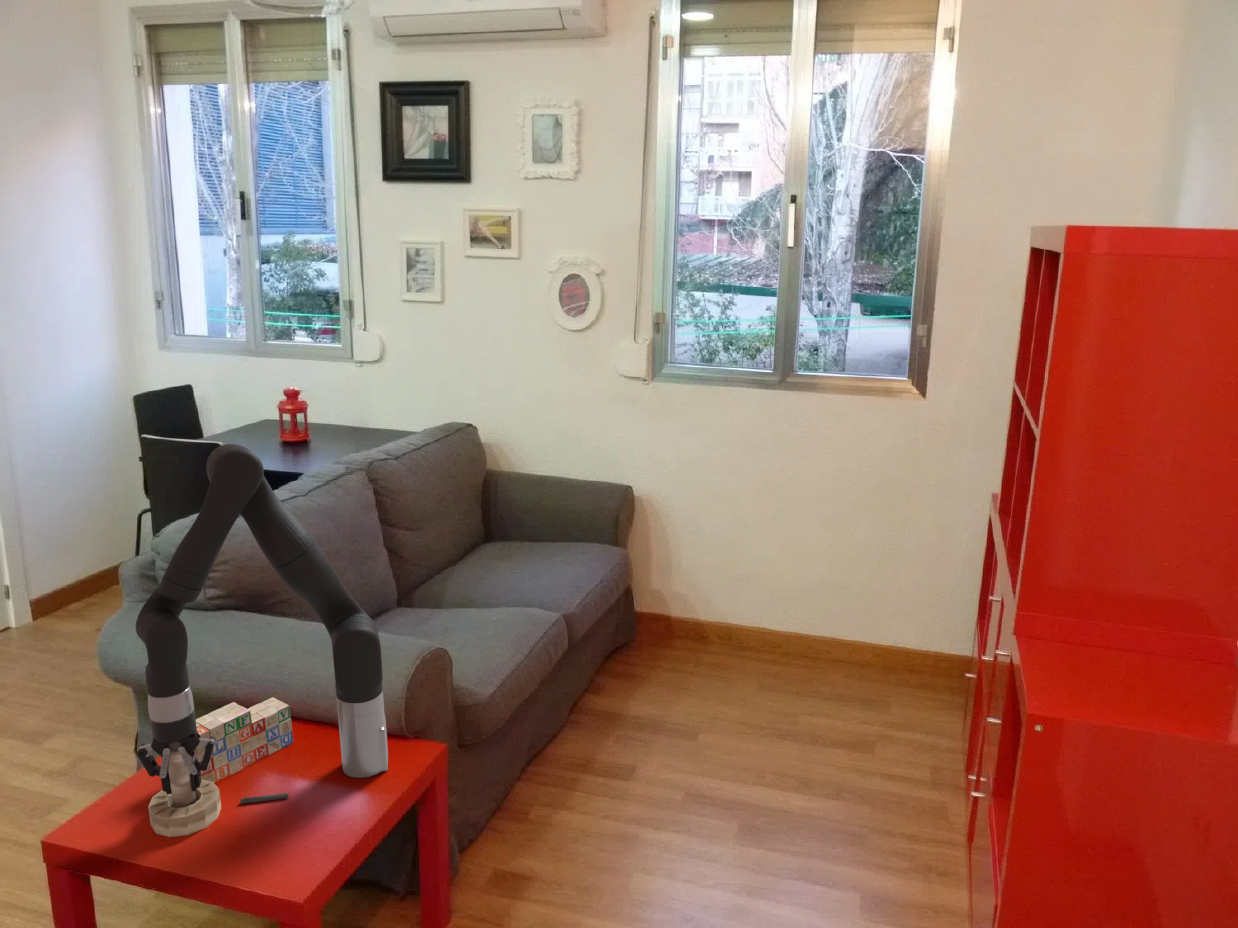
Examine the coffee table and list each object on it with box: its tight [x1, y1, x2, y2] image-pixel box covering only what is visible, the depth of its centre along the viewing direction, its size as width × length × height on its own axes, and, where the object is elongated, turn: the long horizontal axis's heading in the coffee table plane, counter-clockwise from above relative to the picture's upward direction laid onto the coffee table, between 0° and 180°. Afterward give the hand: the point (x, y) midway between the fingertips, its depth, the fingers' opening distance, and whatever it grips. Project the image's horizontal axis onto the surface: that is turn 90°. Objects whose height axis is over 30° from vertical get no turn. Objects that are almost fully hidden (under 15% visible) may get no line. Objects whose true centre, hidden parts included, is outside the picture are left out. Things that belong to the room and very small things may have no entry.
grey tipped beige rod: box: [168, 741, 196, 808], centre depth 178 cm, size 4×4×15 cm
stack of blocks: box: [195, 697, 294, 784], centre depth 197 cm, size 21×6×12 cm, turn 143°
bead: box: [147, 779, 222, 838], centre depth 180 cm, size 12×12×4 cm
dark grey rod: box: [239, 792, 289, 805], centre depth 185 cm, size 9×1×1 cm, turn 103°
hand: (182, 789), depth 179 cm, fingers closed on grey tipped beige rod, 4 cm apart
